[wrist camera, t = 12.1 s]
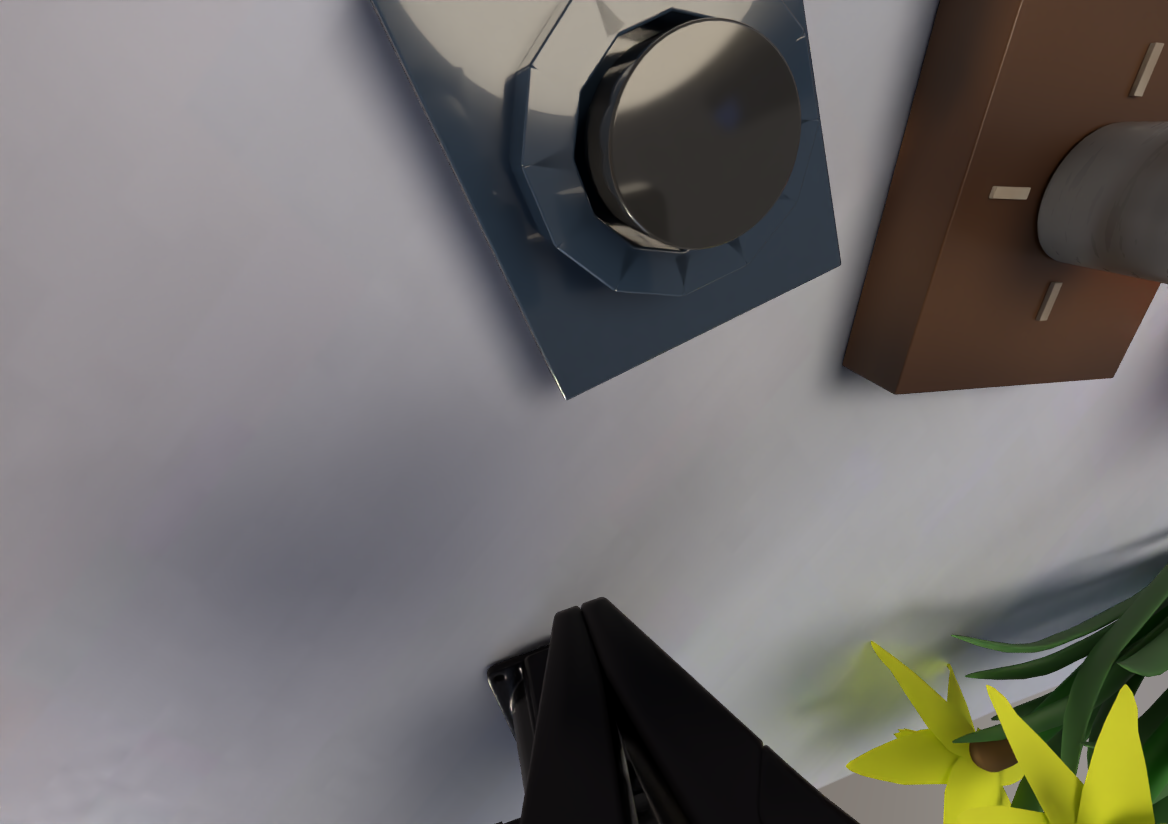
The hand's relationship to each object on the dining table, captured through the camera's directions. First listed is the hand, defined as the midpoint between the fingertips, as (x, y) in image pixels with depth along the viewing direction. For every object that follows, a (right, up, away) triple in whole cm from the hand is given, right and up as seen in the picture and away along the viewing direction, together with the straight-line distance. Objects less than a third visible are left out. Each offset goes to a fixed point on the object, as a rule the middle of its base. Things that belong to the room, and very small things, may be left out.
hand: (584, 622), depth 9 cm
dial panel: (+16, +12, +12) cm, 24 cm away
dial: (+17, +11, +10) cm, 22 cm away
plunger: (+2, +10, +5) cm, 11 cm away
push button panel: (+1, +12, +8) cm, 14 cm away
